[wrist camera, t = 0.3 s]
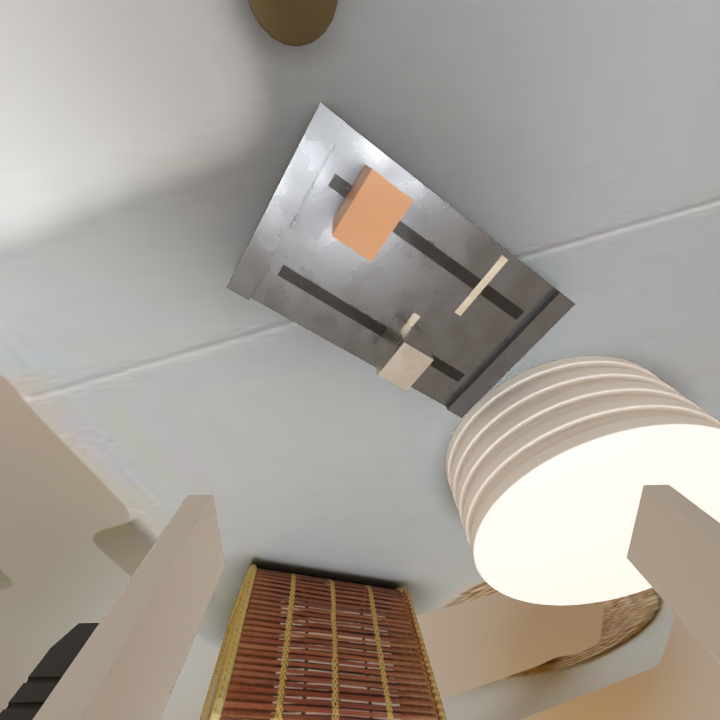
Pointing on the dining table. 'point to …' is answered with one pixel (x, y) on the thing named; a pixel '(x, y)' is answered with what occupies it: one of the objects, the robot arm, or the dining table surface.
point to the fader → (369, 213)
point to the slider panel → (394, 276)
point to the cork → (294, 19)
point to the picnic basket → (321, 654)
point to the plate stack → (574, 475)
